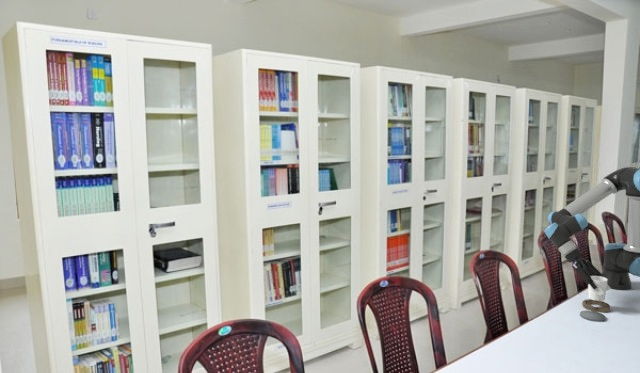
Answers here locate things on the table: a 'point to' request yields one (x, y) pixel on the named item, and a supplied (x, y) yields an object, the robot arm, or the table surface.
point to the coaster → (592, 316)
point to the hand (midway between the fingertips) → (605, 292)
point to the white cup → (601, 283)
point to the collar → (597, 309)
